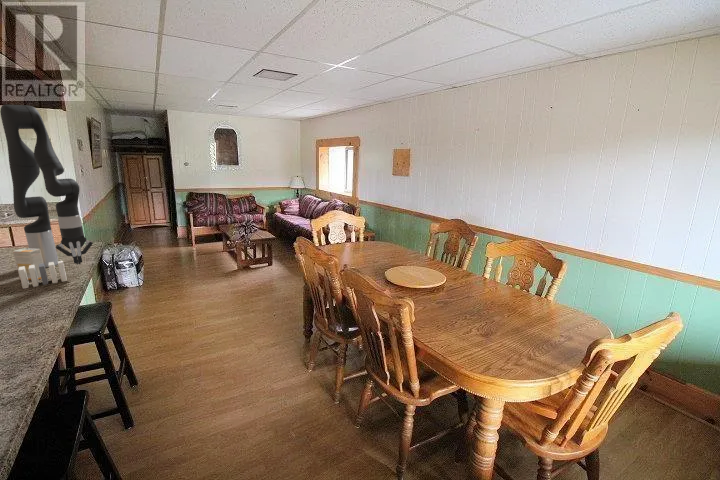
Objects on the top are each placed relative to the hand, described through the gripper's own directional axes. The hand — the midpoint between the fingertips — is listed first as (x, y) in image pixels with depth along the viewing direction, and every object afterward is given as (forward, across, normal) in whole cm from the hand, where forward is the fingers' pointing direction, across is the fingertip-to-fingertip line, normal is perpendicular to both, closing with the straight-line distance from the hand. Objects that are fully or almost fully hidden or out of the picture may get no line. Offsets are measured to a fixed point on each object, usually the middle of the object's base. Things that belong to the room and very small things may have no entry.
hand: (78, 263), depth 149 cm
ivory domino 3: (+6, -9, 0) cm, 11 cm away
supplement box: (+6, -16, +10) cm, 20 cm away
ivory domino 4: (+6, -6, 0) cm, 8 cm away
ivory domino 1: (+6, -18, 0) cm, 19 cm away
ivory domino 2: (+6, -15, 0) cm, 16 cm away
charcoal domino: (+6, -12, 0) cm, 13 cm away
